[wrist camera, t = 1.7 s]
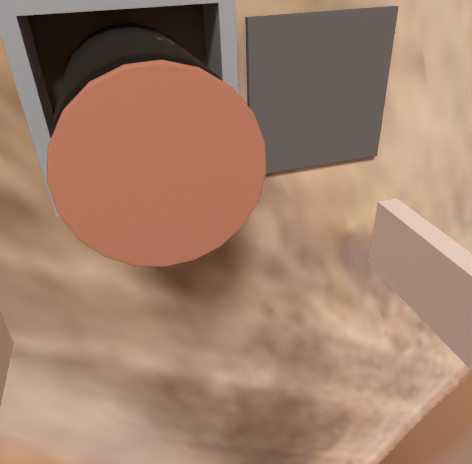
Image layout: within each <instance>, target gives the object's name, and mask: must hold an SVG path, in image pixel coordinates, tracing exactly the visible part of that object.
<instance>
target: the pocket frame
mask: <svg viewBox="0 0 472 464" xmlns="http://www.w3.org/2000/svg"><path fill="white" fill-rule="evenodd" d="M192 4H203V13H204V27H205V41H206V55H207V67H208V68H209V69H211V70H212V71H213V72H214V73H216V74H217V75H218V76H219V77H220V78H221V79H222V81H223V82H225V83H227V84H228V85H230V86H232V87H233V88H234V90H235V91H236V92H237V93H238V94H239V92H238V64H237V37H236V9H235V0H0V35H1V38H2V41H3V45H4V48H5V51H6V55H7V58H8V61H9V64H10V68H11V71H12V74H13V77H14V81H15V84H16V87H17V91H18V94H19V97H20V100H21V104H22V107H23V110H24V114H25V117H26V120H27V123H28V127H29V130H30V133H31V136H32V140H33V143H34V146H35V150H36V153H37V156H38V159H39V163H40V166H41V169H42V172H43V176H44V179H45V182H46V186H47V189H48V192H49V195H50V199H51V202H52V205H53V208H54V212H55V215H56V217H60V216H59V214H58V213H57V210H56V207H55V204H54V201H53V199H52V196H51V193H50V190H49V187H48V184H47V151H48V144H49V142H50V139H51V128H52V124H53V119H54V114H53V110H52V106H51V102H50V99H49V95H48V91H47V87H46V84H45V80H44V76H43V73H42V69H41V65H40V61H39V58H38V54H37V50H36V47H35V43H34V39H33V35H32V32H31V28H30V24H29V21H28V17H27V15H41V14H56V13H71V12H86V11H101V10H116V9H131V8H146V7H162V6H177V5H192Z"/></svg>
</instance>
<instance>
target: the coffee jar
mask: <svg viewBox="0 0 472 464" xmlns="http://www.w3.org/2000/svg"><path fill="white" fill-rule="evenodd" d="M265 176H266V156H265V141H264V138H263V136H262V133H261V130H260V128H259V125H258V122H257V120H256V117H255V115H254V112H253V111H252V110H251V109H250V108H249V106H248V105H247V104H246V103H245V102H244V100H243V99H242V98H241V97H240V96H239V94H238V93H237V92H236V91H235V90H234V88H233V87H232V86H230V85H228V84H227V83H225V82H223V81H222V79H221V78H220V77H219V76H218V75H217V74H216V73H214V72H213V71H212V70H211V69H209V68H208V67H207V66H205V65H204V64H203V63H202V62H200V61H199V60H198V59H196V58H195V57H194V56H193V55H191V54H190V53H189V52H187V51H186V50H185V49H184V48H182V47H181V46H180V45H178V44H177V43H176V42H175V41H173V40H172V39H170V38H169V37H167V36H165V35H164V34H162V33H160V32H159V31H157V30H155V29H154V28H150V27H145V26H141V25H137V24H132V23H128V24H119V25H110V26H107V27H105V28H103V29H101V30H99V31H97V32H95V33H93V34H91V35H89V36H87V38H86V39H85V40H84V41H83V42H82V43H81V44H80V45H79V46H78V47H77V48H76V49H75V51H74V52H73V53H72V56H71V58H70V61H69V63H68V65H67V68H66V70H65V73H64V77H63V81H62V85H61V90H60V94H59V98H58V102H57V107H56V111H55V115H54V119H53V124H52V128H51V139H50V142H49V144H48V151H47V184H48V187H49V190H50V193H51V196H52V199H53V201H54V204H55V207H56V210H57V213H58V214H59V216H60V217H61V218H62V219H63V221H64V222H65V223H66V224H67V226H68V227H69V228H70V229H71V231H72V232H73V233H74V234H75V236H76V237H77V238H78V239H79V240H80V241H82V242H83V243H85V244H86V245H88V246H89V247H91V248H92V249H94V250H95V251H97V252H98V253H100V254H101V255H103V256H104V257H107V258H110V259H114V260H117V261H120V262H123V263H127V264H130V265H133V266H156V267H166V266H171V265H175V264H179V263H184V262H188V261H192V260H196V259H197V258H199V257H201V256H203V255H205V254H207V253H209V252H211V251H213V250H215V249H217V248H219V247H220V246H222V245H223V244H224V243H225V242H226V241H227V240H228V239H229V238H231V237H232V236H233V235H234V234H235V233H236V232H237V231H238V230H239V229H240V228H242V227H243V225H244V224H245V222H246V220H247V219H248V217H249V216H250V214H251V212H252V211H253V209H254V208H255V206H256V204H257V203H258V201H259V197H260V194H261V190H262V186H263V183H264V179H265Z"/></svg>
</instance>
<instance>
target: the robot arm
mask: <svg viewBox="0 0 472 464" xmlns="http://www.w3.org/2000/svg"><path fill="white" fill-rule="evenodd" d="M368 264H369V265H370V266H371V267H372V268H373V269H374V270H375V271H376V272H377V273H378V274H379V275H380V276H381V277H382V278H383V279H384V280H385V281H386V282H387V283H388V284H389V285H390V286H391V287H392V288H393V290H394V291H395V292H396V293H397V294H398V295H399V296H400V297H401V298H402V299H403V300H404V301H405V302H406V303H407V304H408V305H409V306H410V307H411V308H412V309H413V310H414V311H415V312H416V313H417V314H418V315H419V317H420V318H421V319H422V320H423V321H424V322H425V323H426V324H427V325H428V326H429V327H430V328H431V329H432V330H433V331H434V332H435V333H436V334H437V335H438V336H439V337H440V338H441V339H442V340H443V341H444V342H445V344H446V345H447V346H448V347H449V348H450V349H451V350H452V351H453V352H454V353H455V354H456V355H457V356H458V357H459V358H460V359H461V360H462V361H463V362H464V363H465V364H466V365H467V366H468V367H469V368H470V370H471V371H472V253H470V252H469V251H467V250H466V249H465V248H463V247H462V246H461V245H459V244H458V243H457V242H455V241H454V240H452V239H451V238H450V237H448V236H447V235H446V234H444V233H443V232H442V231H440V230H439V229H437V228H436V227H435V226H433V225H432V224H431V223H429V222H428V221H426V220H425V219H424V218H422V217H421V216H420V215H418V214H417V213H416V212H414V211H413V210H411V209H410V208H409V207H407V206H406V205H405V204H403V203H402V202H401V201H399V200H398V199H391V200H385V201H380V202H378V204H377V211H376V217H375V224H374V230H373V237H372V243H371V250H370V256H369V263H368ZM13 343H14V342H13V340H12V338H11V335H10V333H9V331H8V329H7V326H6V324H5V322H4V320H3V317H2V315H1V313H0V405H1V400H2V395H3V391H4V386H5V381H6V376H7V372H8V367H9V362H10V357H11V352H12V348H13Z"/></svg>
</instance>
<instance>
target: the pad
mask: <svg viewBox="0 0 472 464" xmlns="http://www.w3.org/2000/svg"><path fill="white" fill-rule="evenodd" d="M397 13H398V6H389V7H375V8H362V9H349V10H335V11H322V12H309V13H296V14H282V15H269V16H256V17H245V18H246V58H247V97H248V106H249V108H250V109H251V110H252V111H253V112H254V115H255V117H256V120H257V122H258V125H259V128H260V130H261V133H262V136H263V138H264V141H265V156H266V174H268V173H274V172H280V171H286V170H292V169H299V168H305V167H311V166H317V165H323V164H329V163H335V162H342V161H348V160H354V159H360V158H366V157H372V156H377V151H378V144H379V137H380V131H381V124H382V117H383V110H384V103H385V96H386V89H387V82H388V75H389V68H390V61H391V54H392V47H393V40H394V33H395V26H396V20H397Z"/></svg>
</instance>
